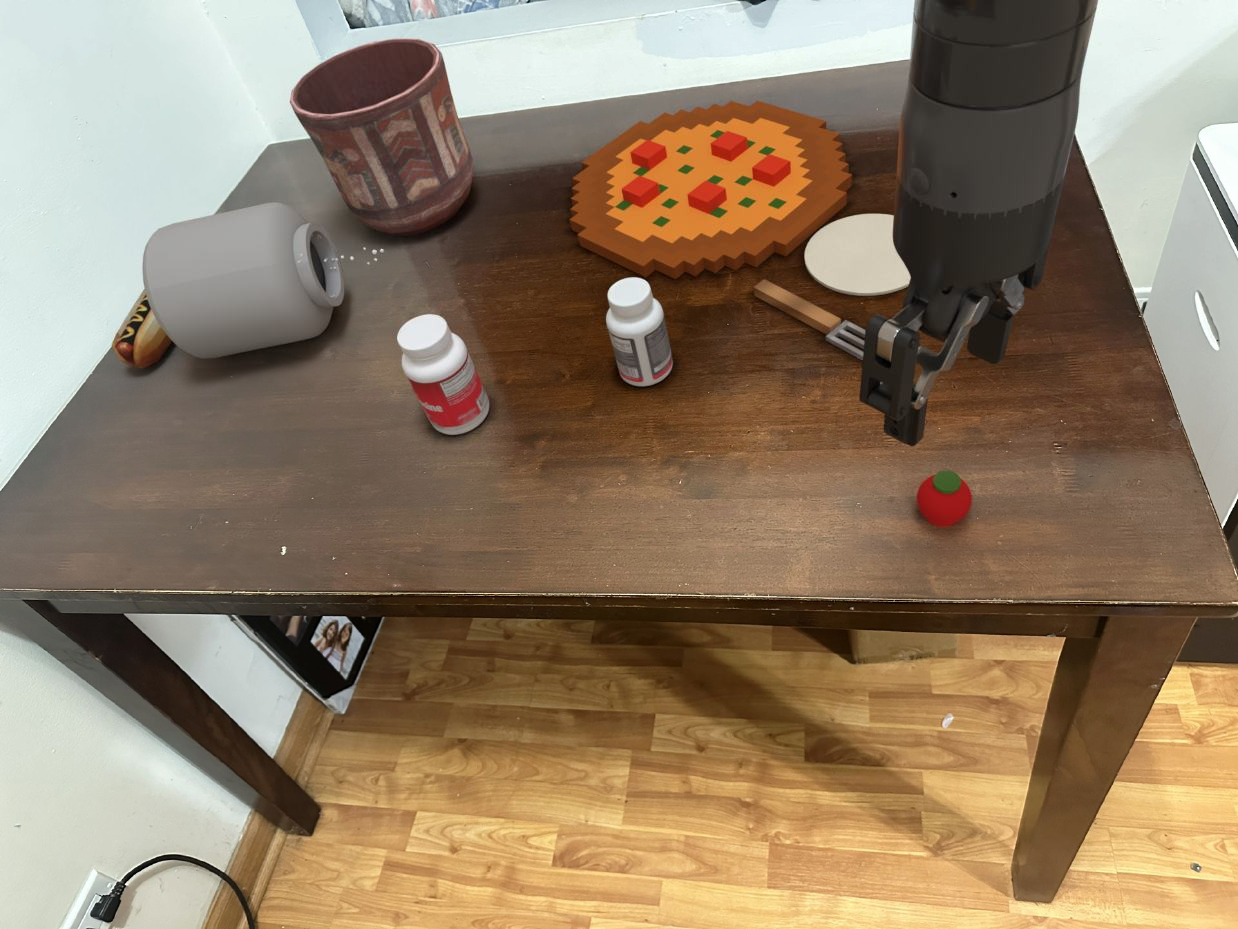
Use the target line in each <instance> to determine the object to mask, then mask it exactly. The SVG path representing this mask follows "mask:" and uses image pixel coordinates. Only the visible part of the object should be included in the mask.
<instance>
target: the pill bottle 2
mask: <svg viewBox="0 0 1238 929" xmlns="http://www.w3.org/2000/svg"><path fill="white" fill-rule="evenodd" d="M607 302H608V306H609V308H608V310H607V313H606V316H605V323H606V329H607V331H608V334H609V338H610V342H611V346H612V351H613V354H614V357H615V362H616V365H617V369H618V372H619V376H620V377H621V379H622V380H623V381H624V382H626V383H627V384H629V385H632V386H635V387H648V386H654V385H655V384H658V383H660V382H662V381H663V380H664V379H665V378H667V377H668V376H669V374H670V373H671V371H672V369H673V364H674V360H673V355H672V349H671V347H670V346H671V345H670V339H669V335H668V334H669V333H668V328H667V325H666V320H665V313H664V310H663V307H662V305H661V303H660V302H659V301H658V300H657V298H654V295H653V292H652V289H651V285H650V284H649V282H648V281H646V280H645V279H643V278H642V277H636V276H634V277H633V276H632V277H625V278H623V279H620V280H618V281H616V282H614V284H612V285H611V286H610V287H609V289H608V291H607Z"/></svg>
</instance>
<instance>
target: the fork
mask: <svg viewBox="0 0 1238 929" xmlns="http://www.w3.org/2000/svg"><path fill="white" fill-rule="evenodd" d="M753 295H754V297H756V298H757V299H759V300H761V301H763V302H765V303H767V304H768V305H771V306H772V307H774V308H776V309H777V310H780V311H782V312H784V313H785V314H787V315H789V316H791V317H793V318H794V319H797V320H798V321H800V322H802V323H804V324H805V325H807V326H809V327H812V329H815V330H817V331H819V332H821V333H822V334H824V335H825V341H826V342H828V343H830V344H831V345H833V346H835V347H837V348H839V349H840V350H842V351H844V352H846V353H848V354H850V355H852V356H853V357H855V358H857V359H858V360H860V361H863V352H864V341H865V330H866V329H864V328H862V327H860V326H858V325H856V324H855V323H852V322H851V321H849V320H847V319H845V320H844V321H842V318H840V317H838V316H836V315H835V314H832V313H831V312H829V311H827V310H825V309H823V308H821V307H819V306H817V305H816V304H813V303H811V302H809V301H808V300H806V299H804V298H802V297H800V296H797V295H796V294H795V293H792V292H790V291H788V290H786V289H784V288H782V287H781V286H778V285H777V284H775V283H773V282H771V281H769V280H768V279H765V278H764V279H762V280H761V281H760V282H758V283H757V284H755V285H754V286H753ZM847 330H848V331H849V332H848V331H847ZM850 332H851V333H850ZM852 333H853V334H852ZM854 334H855V335H854ZM858 336H859V337H858ZM839 337H840V338H842V339H840V338H839ZM861 338H863V339H864V340H863V339H861ZM843 339H844V340H843ZM846 341H847V342H849V343H847V342H846ZM850 343H851V344H850ZM852 344H853V345H855V346H856V347H855V346H853V345H852ZM857 347H859V348H860V349H862V350H860V349H859V348H857Z"/></svg>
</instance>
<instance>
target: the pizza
mask: <svg viewBox="0 0 1238 929" xmlns="http://www.w3.org/2000/svg"><path fill="white" fill-rule="evenodd" d="M840 135H841V134H840V132H837V131H834V130H833V131H832V130H829V129H827V120H824V119H821V118H818V117H814V116H811V115H808V114H804V113H801V112H797V111H794V110H790V109H787V108H784V107H780V106H777V105H773V104H770V103H768V102H763V101H760V100H756V101H754V102H753V103H751V105H747V104H743V103H740V102H737V101H733V100H730V101H728V102H727V103H726V104H724V105H720V104H717V103H713V104H712V105H710V106H708V108H704V107H700V106H697V107H695V108H694V109H691V111H687V110H684V109H680V110H678V111H677V112H675V113H674V114H671V113H668V112H663V113H661V114H660V115H659V116H657V117H655V119H653V120H652V121H650V122H644V121H642V120H639V121H638V122H636V123H635V124H634V125H632V126H631V127H629V128H628V129H627V130H625V131H623V132H622V133H621V134H619V135H618V136H617V137H615V138H613V139H612V140H611V141H610V142H608V143H607V144H605V145H603V147H601V148H600V149H598V150H597V151H596V152H594V153H593V154H591V155H589V157H586V159H583V161H581V166H582V171H579V173H577V174H576V175H574V176H573V177H572V179H571V180H572V184H573V187H571V192H572V197H570V201H571V204H572V207H571V208H569V209H570V214H571V217H570V218H569V219H568V220H569V224H570V227H571V231H573V232H575V233H577V239H578V242H579V246H580V247H582V248H583V249H586V250H588V251H590V252H592V253H594V254H595V255H598V256H601V257H602V258H604V259H607V260H608V261H610V262H613V263H615V264H617V265H619V266H621V267H623V268H625V269H627V270H630V271H631V272H634V273H635V274H638V275H640V276H642V277H643V278H647V277H648V276H650V275H651V274H652V273H653V272H654V271H657V272H659V273H661V274H664V275H665V276H668V277H669V278H672V279H674V280H677V279H679V277H681V276H682V275H683V274H684V273H686V274H689V275H692V276H694V277H697V276H698V275H699V274H700V273H702V272H703V271H705V270H706V271H708V272H711V273H713V274H717V273H718V272H719V271H720V270H722V269H723V268H724V267H727V268H729V269H732V270H733V271H737V270H738V269H740V268H741V267H742V266H744V265H745V264H747V265H750V266H752V267H754V268H758V267H759V266H760V265H761V264H763V262H765V261H766V260H767V259H769V258H770V257H771V256H772V255H773V254H774V253H775V254H779V255H780V256H783V257H787V256H789V255H790V254H791V253H792V252H793V251H794V250H796V249H797V248H798V247H799V246H800V245H801V244H803V243H804V242H805V241H807V239H808V238H810V237H812V236H813V235H814V234H815V233H816V232H817V231H819V230H820V229H821V227H822V226H824V225H825V224H826V223H827V222H828V221H829V220H831V219H832V218H833V217H834V216H836V214H837V213H839V212H840V211H841V210H842V209H844V207H846V206H847V203H848V192H847V191H848V190H849V189H850V188H851V187H853V174H852V173H850V172H849V171H850V164H849V163H847V162H846V160H847V159H846V157H847V156H846V155H847V154H846V153H845V152H843V149H844V148H843V146H844V143H842V142H841V140H840V138H841V136H840Z"/></svg>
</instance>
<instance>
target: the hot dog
mask: <svg viewBox="0 0 1238 929" xmlns="http://www.w3.org/2000/svg"><path fill="white" fill-rule="evenodd" d="M172 343H173V341H172V340H171V339H170V338H169V337H168V335H167V334H166V333H165V331H164V330H163V329H162V327H161V326H160V325H159V323H158V321H157V319H156V318H155V316H154V314H153V312H152V309H151V307H150V305H149V302H148V299H147V296H146V292H145V288H144V289H143V290H142V292H141V293H140V294H139V296H138V298H137V299H136V301H135V302H134V304H133V306H132V307H131V309H130V310H129V312H128V313H127V315H126V317H125V318H124V320H123V322H122V323H121V326H120V327H119V328H118V330H117V332H116V333H115V336H114V338H113V340H112V342H111V348H112V350H113V352H114V353H115V355H116V356H117V357H118V359H119V360H120V362H122V363H124V364H125V365H128V366H131V367H133V368H139V369H146V368H147V367H149V366H151V365H153V364H154V363H156V362H158V361H160V360H161V359H162V357H163V356H164V354H165V353H166V351H167V350H168V348H169V347H170V346H171V345H172Z"/></svg>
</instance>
